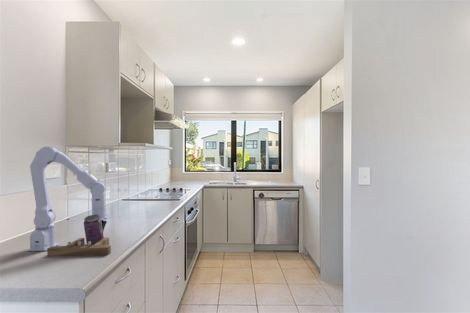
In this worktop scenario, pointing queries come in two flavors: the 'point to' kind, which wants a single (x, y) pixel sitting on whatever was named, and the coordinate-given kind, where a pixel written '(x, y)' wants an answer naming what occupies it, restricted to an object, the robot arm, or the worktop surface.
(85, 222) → the beverage can
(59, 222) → the worktop surface
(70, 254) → the pin nest
